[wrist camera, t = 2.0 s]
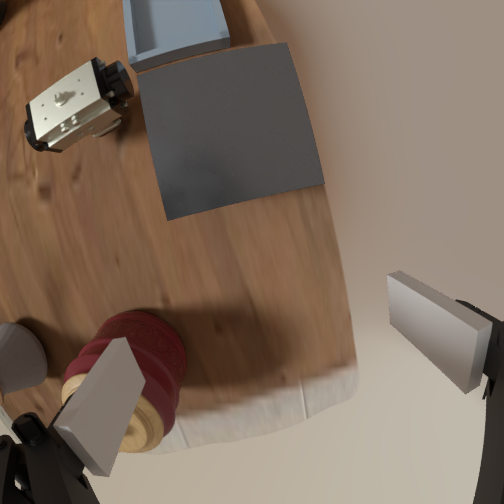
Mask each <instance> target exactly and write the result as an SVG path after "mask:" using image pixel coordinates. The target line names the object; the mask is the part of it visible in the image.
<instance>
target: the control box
mask: <svg viewBox="0 0 504 504" xmlns="http://www.w3.org/2000/svg"><path fill="white" fill-rule="evenodd" d="M137 79H138V85H139V91H140V97H141V103H142V109H143V114H144V119H145V125H146V130H147V135H148V140H149V144H150V149H151V154H152V158H153V163H154V167H155V172H156V176H157V181H158V185H159V189H160V193H161V197H162V201H163V205H164V209H165V213H166V217H167V221H169V220H173V219H176V218H180V217H184V216H188V215H191V214H195V213H199V212H203V211H207V210H211V209H215V208H219V207H223V206H227V205H231V204H235V203H239V202H243V201H247V200H252V199H256V198H260V197H265V196H269V195H274V194H278V193H283V192H287V191H292V190H296V189H301V188H306V187H311V186H316V185H321V184H325V182H324V177H323V173H322V168H321V164H320V160H319V155H318V151H317V147H316V143H315V139H314V135H313V130H312V127H311V123H310V120H309V115H308V111H307V108H306V104H305V101H304V97H303V94H302V90H301V87H300V83H299V80H298V77H297V73H296V70H295V67H294V64H293V60H292V57H291V55H290V52H289V48H288V46H287V43H278V44H269V45H262V46H255V47H248V48H242V49H236V50H231V51H226V52H221V53H216V54H212V55H207V56H203V57H199V58H195V59H191V60H187V61H183V62H179V63H176V64H172V65H169V66H166V67H162V68H159V69H156V70H153V71H150V72H147V73H144V74H141V75H138V76H137Z"/></svg>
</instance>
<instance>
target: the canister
mask: <svg viewBox="0 0 504 504" xmlns="http://www.w3.org/2000/svg"><path fill="white" fill-rule="evenodd" d="M123 337H126V339H127V342H128V344H129V346H130V349H131V351H132V353H133V355H134V357H135V360H136V362H137V364H138V366H139V368H140V370H141V373H142V375H143V377H144V379H145V381H146V382H145V385H144V387H143V389H142V392H141V394H140V397H139V399H138V402H137V404H136V407H135V409H134V412H133V414H132V417H131V419H130V422H129V424H128V427H127V430H126V432H125V435H124V437H123V440H122V443H121V445H120V448H119V452H127V453H141V452H146V451H149V450H152V449H153V448H155V447H156V446H157V445H158V444H159V443H160V442H161V440H162V438H163V437H165V436H166V435H167V434H168V433H169V432H170V431H171V430H172V428H173V426H174V423H175V410H176V409H177V406H178V403H179V392H180V388H181V383H182V381H183V379H184V376H185V372H186V367H187V359H186V352H185V348H184V345H183V342H182V340H181V338H180V337H179V335H178V334H177V332H176V331H175V330H174V329H173V328H172V327H171V326H170V325H169V324H168V323H166V322H165V321H164V320H162V319H160V318H159V317H157V316H155V315H152V314H150V313H146V312H142V311H126V312H122V313H119V314H117V315H115V316H113V317H111V318H110V319H108V320H107V321H106V322H105V323H104V324H103V325H102V326H101V327H100V329H99V330H98V332H97V334H96V335H95V336H94V338H93V339H92V340H91V341H90V342H89V343H88V344H86V345H85V346H84V347H83V348H82V350H81V351H80V353H79V355H78V357H77V358H75V359H74V360H73V361H72V362H71V363H70V364H69V365H68V367H67V369H66V372H65V376H64V386H63V389H62V402H63V404H64V403H65V401H66V400H67V398H68V397H69V396H70V395H71V394H73V393H74V392H75V391H76V390H77V389H78V387H79V386H80V384H81V383H82V381H83V380H84V378H85V377H86V376H87V374H88V373H89V371H90V370H91V369H92V367H93V366H94V364H95V363H96V362H97V360H98V359H99V357H100V356H101V355H102V353H103V352H104V351H105V349H106V348H107V346H108V345H109V344H110V342H111V341H112V340H113V339H117V338H123Z"/></svg>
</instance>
